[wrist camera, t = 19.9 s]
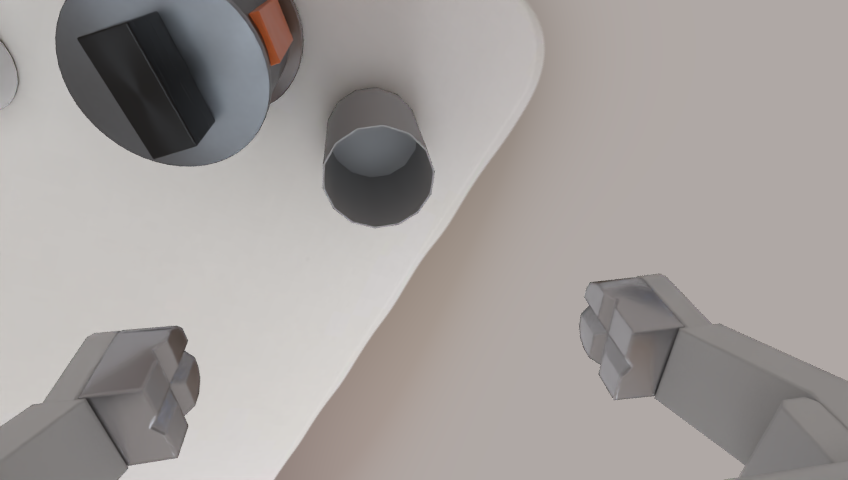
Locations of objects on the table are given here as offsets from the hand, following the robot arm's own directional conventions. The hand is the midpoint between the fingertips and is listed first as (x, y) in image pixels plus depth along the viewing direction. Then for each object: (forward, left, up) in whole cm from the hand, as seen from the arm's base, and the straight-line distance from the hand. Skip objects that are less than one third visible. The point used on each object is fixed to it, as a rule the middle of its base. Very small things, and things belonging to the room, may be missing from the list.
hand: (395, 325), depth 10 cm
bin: (+7, -8, -34) cm, 35 cm away
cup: (+6, +6, -35) cm, 36 cm away
